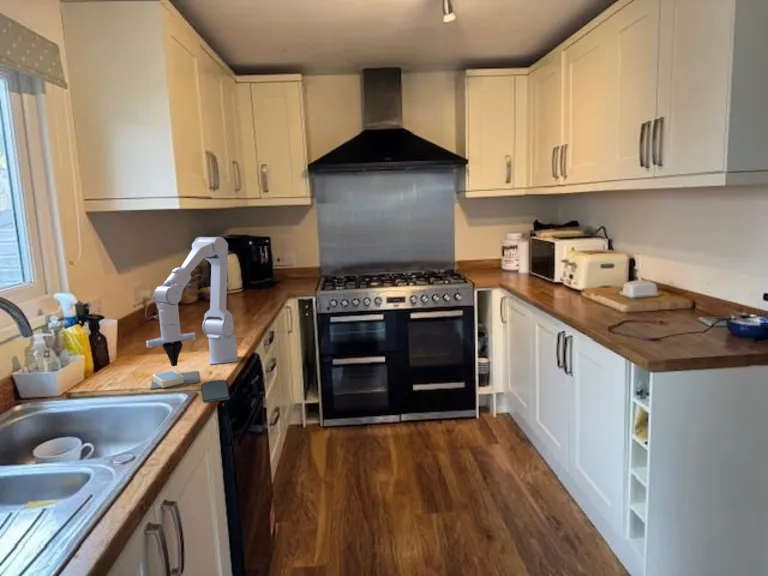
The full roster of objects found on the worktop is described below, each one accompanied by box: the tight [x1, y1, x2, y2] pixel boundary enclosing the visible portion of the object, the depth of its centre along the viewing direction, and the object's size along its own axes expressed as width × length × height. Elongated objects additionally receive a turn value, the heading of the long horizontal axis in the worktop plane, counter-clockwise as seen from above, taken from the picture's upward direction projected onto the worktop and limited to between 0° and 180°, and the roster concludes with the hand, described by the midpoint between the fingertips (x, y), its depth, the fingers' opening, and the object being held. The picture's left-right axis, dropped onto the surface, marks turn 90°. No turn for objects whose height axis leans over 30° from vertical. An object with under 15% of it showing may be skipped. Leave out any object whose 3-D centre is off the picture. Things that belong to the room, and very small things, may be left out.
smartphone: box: [200, 379, 231, 404], centre depth 159 cm, size 8×2×15 cm
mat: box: [150, 370, 200, 390], centre depth 171 cm, size 14×12×1 cm
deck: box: [152, 369, 184, 389], centre depth 168 cm, size 2×9×6 cm
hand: (174, 365), depth 170 cm, fingers closed
